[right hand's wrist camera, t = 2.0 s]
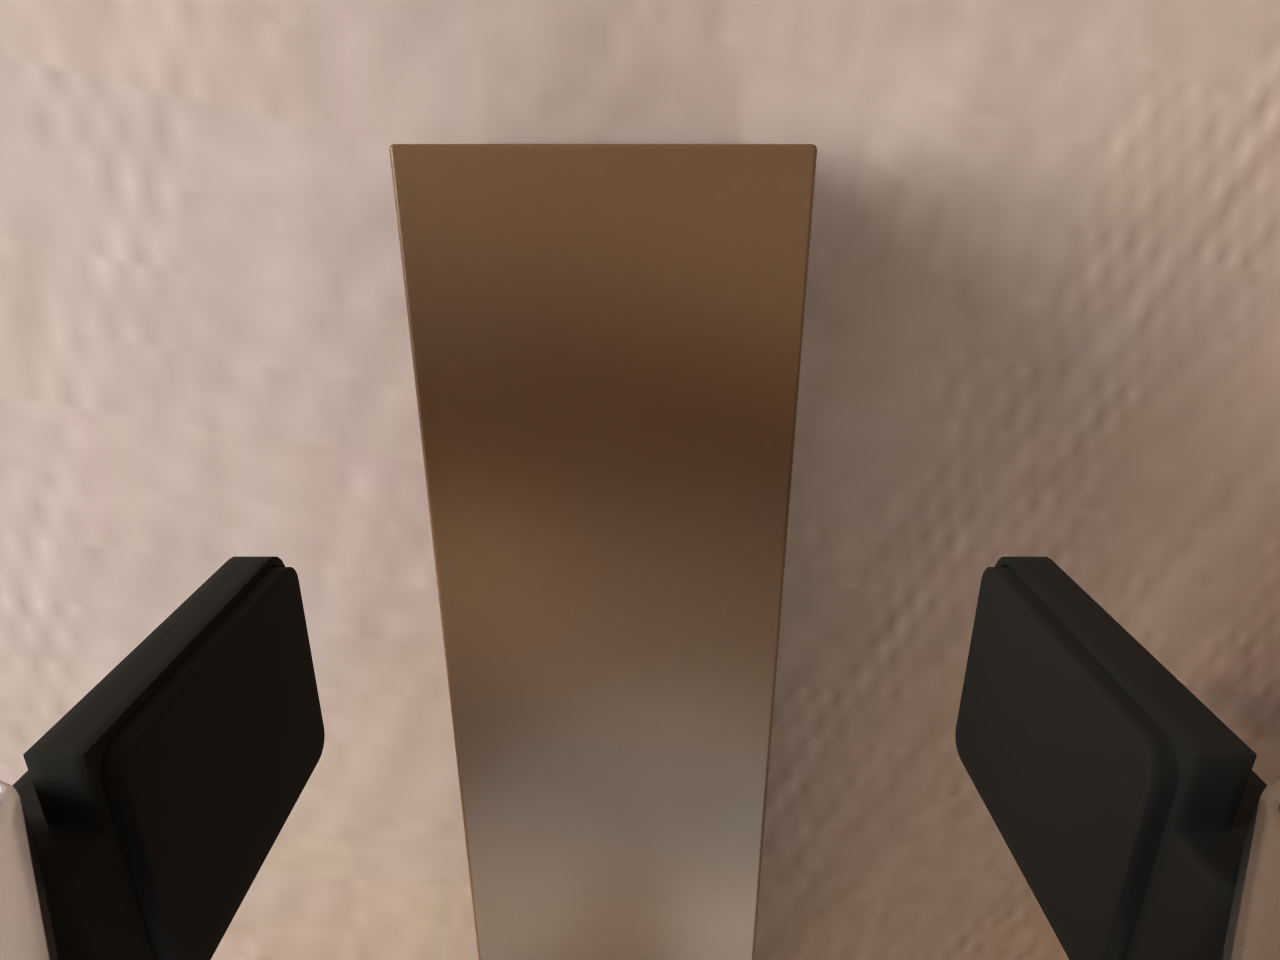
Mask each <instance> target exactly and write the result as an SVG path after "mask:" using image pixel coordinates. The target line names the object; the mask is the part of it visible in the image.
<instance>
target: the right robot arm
mask: <svg viewBox="0 0 1280 960" xmlns="http://www.w3.org/2000/svg"><path fill="white" fill-rule="evenodd" d="M323 745H324V726H323V720H322V714H321V708H320V702H319V697H318V691H317V685H316V679H315V673H314V667H313V662H312V656H311V650H310V644H309V638H308V632H307V627H306V621H305V615H304V609H303V603H302V597H301V592H300V586H299V580H298V576H297V573H296V571H295V569H293V568H292V567H285V565H284V564H283V562H282V560H281V559H280V558H278V557H232V558H231V559H229V560H228V561H227V562H226V563H225V564H224V565H223V566H222V567H221V568H219V569H218V570H217V571H216V572H215V573H214V574H213V575H212V576H211V577H210V578H209V579H208V580H207V581H206V582H205V583H204V584H203V585H202V586H200V587H199V588H198V589H197V590H196V591H195V592H194V593H193V594H192V595H191V596H190V597H189V598H188V599H187V600H186V601H185V602H184V603H183V604H182V605H180V606H179V607H178V608H177V609H176V610H175V611H174V612H173V613H172V614H171V615H170V616H169V617H168V618H167V619H166V620H165V621H164V622H163V623H162V624H160V625H159V626H158V627H157V628H156V629H155V630H154V631H153V632H152V633H151V634H150V635H149V636H148V637H147V638H146V639H145V640H144V641H143V642H142V643H140V644H139V645H138V646H137V647H136V648H135V649H134V650H133V651H132V652H131V653H130V654H129V655H128V656H127V657H126V658H125V659H124V660H123V661H122V662H120V663H119V664H118V665H117V666H116V667H115V668H114V669H113V670H112V671H111V672H110V673H109V674H108V675H107V676H106V677H105V678H104V679H103V680H102V681H100V682H99V683H98V684H97V685H96V686H95V687H94V688H93V689H92V690H91V691H90V692H89V693H88V694H87V695H86V696H85V697H84V698H83V699H82V700H80V701H79V702H78V703H77V704H76V705H75V706H74V707H73V708H72V709H71V710H70V711H69V712H68V713H67V714H66V715H65V716H64V717H63V718H61V719H60V720H59V721H58V722H57V723H56V724H55V725H54V726H53V727H52V728H51V729H50V730H49V731H48V732H47V733H46V734H45V735H44V736H43V737H41V738H40V739H39V740H38V741H37V742H36V743H35V744H34V745H33V746H32V747H31V748H30V749H29V750H28V751H27V752H26V753H25V754H24V755H23V756H24V758H25V761H26V764H27V767H28V771H27V772H26V773H25V774H24V775H23V776H22V777H21V778H20V779H19V780H18V781H17V782H16V783H15V784H14V785H13V786H12V785H9V784H7V783H5V782H2V781H0V960H211V958H212V956H213V954H214V952H215V950H216V949H217V947H218V945H219V943H220V941H221V939H222V937H223V936H224V934H225V932H226V930H227V928H228V926H229V925H230V923H231V921H232V919H233V917H234V915H235V914H236V912H237V910H238V908H239V906H240V904H241V903H242V901H243V899H244V897H245V895H246V893H247V891H248V890H249V888H250V886H251V884H252V882H253V880H254V879H255V877H256V875H257V873H258V871H259V869H260V868H261V866H262V864H263V862H264V860H265V858H266V857H267V855H268V853H269V851H270V849H271V847H272V845H273V844H274V842H275V840H276V838H277V836H278V834H279V833H280V831H281V829H282V827H283V825H284V823H285V822H286V820H287V818H288V816H289V814H290V812H291V810H292V809H293V807H294V805H295V803H296V801H297V799H298V798H299V796H300V794H301V792H302V790H303V788H304V787H305V785H306V783H307V781H308V779H309V777H310V776H311V774H312V772H313V770H314V768H315V766H316V764H317V763H318V761H319V759H320V756H321V754H322V750H323ZM956 745H957V750H958V754H959V756H960V759H961V761H962V763H963V764H964V766H965V768H966V770H967V772H968V774H969V776H970V777H971V779H972V781H973V783H974V785H975V787H976V788H977V790H978V792H979V794H980V796H981V798H982V799H983V801H984V803H985V805H986V807H987V809H988V810H989V812H990V814H991V816H992V818H993V820H994V822H995V823H996V825H997V827H998V829H999V831H1000V833H1001V834H1002V836H1003V838H1004V840H1005V842H1006V844H1007V845H1008V847H1009V849H1010V851H1011V853H1012V855H1013V857H1014V858H1015V860H1016V862H1017V864H1018V866H1019V868H1020V869H1021V871H1022V873H1023V875H1024V877H1025V879H1026V880H1027V882H1028V884H1029V886H1030V888H1031V890H1032V891H1033V893H1034V895H1035V897H1036V899H1037V901H1038V903H1039V904H1040V906H1041V908H1042V910H1043V912H1044V914H1045V915H1046V917H1047V919H1048V921H1049V923H1050V925H1051V926H1052V928H1053V930H1054V932H1055V934H1056V936H1057V937H1058V939H1059V941H1060V943H1061V945H1062V947H1063V949H1064V950H1065V952H1066V954H1067V956H1068V958H1069V960H1280V781H1278V782H1275V783H1273V784H1271V785H1268V786H1267V785H1266V784H1265V783H1264V782H1263V781H1262V780H1261V779H1260V778H1259V777H1258V776H1257V775H1256V774H1255V773H1254V772H1253V771H1252V767H1253V764H1254V761H1255V759H1256V756H1257V755H1256V754H1255V753H1254V752H1253V751H1252V750H1251V749H1250V748H1249V747H1248V746H1247V745H1246V744H1245V743H1244V742H1243V741H1242V740H1241V739H1240V738H1239V737H1237V736H1236V735H1235V734H1234V733H1233V732H1232V731H1231V730H1230V729H1229V728H1228V727H1227V726H1226V725H1225V724H1224V723H1223V722H1222V721H1221V720H1220V719H1219V718H1217V717H1216V716H1215V715H1214V714H1213V713H1212V712H1211V711H1210V710H1209V709H1208V708H1207V707H1206V706H1205V705H1204V704H1203V703H1202V702H1201V701H1200V700H1198V699H1197V698H1196V697H1195V696H1194V695H1193V694H1192V693H1191V692H1190V691H1189V690H1188V689H1187V688H1186V687H1185V686H1184V685H1183V684H1182V683H1181V682H1180V681H1178V680H1177V679H1176V678H1175V677H1174V676H1173V675H1172V674H1171V673H1170V672H1169V671H1168V670H1167V669H1166V668H1165V667H1164V666H1163V665H1162V664H1161V663H1160V662H1158V661H1157V660H1156V659H1155V658H1154V657H1153V656H1152V655H1151V654H1150V653H1149V652H1148V651H1147V650H1146V649H1145V648H1144V647H1143V646H1142V645H1141V644H1140V643H1138V642H1137V641H1136V640H1135V639H1134V638H1133V637H1132V636H1131V635H1130V634H1129V633H1128V632H1127V631H1126V630H1125V629H1124V628H1123V627H1122V626H1121V625H1120V624H1118V623H1117V622H1116V621H1115V620H1114V619H1113V618H1112V617H1111V616H1110V615H1109V614H1108V613H1107V612H1106V611H1105V610H1104V609H1103V608H1102V607H1101V606H1100V605H1098V604H1097V603H1096V602H1095V601H1094V600H1093V599H1092V598H1091V597H1090V596H1089V595H1088V594H1087V593H1086V592H1085V591H1084V590H1083V589H1082V588H1081V587H1080V586H1078V585H1077V584H1076V583H1075V582H1074V581H1073V580H1072V579H1071V578H1070V577H1069V576H1068V575H1067V574H1066V573H1065V572H1064V571H1063V570H1062V569H1061V568H1059V567H1058V566H1057V565H1056V564H1055V563H1054V562H1053V561H1052V560H1051V559H1049V558H1048V557H1002V558H1000V559H999V560H998V562H997V564H996V565H995V567H988V568H987V569H985V571H984V573H983V576H982V580H981V586H980V592H979V597H978V603H977V609H976V615H975V621H974V627H973V632H972V638H971V644H970V650H969V656H968V662H967V667H966V673H965V679H964V685H963V691H962V697H961V702H960V708H959V714H958V720H957V726H956Z"/></svg>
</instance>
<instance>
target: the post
mask: <svg viewBox="0 0 1280 960" xmlns="http://www.w3.org/2000/svg"><path fill="white" fill-rule="evenodd" d="M816 156H817V148H816V146H815V145H813V144H393V145H391V146H390V158H391V167H392V176H393V185H394V194H395V204H396V213H397V222H398V231H399V240H400V249H401V258H402V267H403V276H404V285H405V294H406V303H407V312H408V321H409V330H410V340H411V349H412V358H413V367H414V376H415V385H416V394H417V403H418V412H419V421H420V430H421V439H422V448H423V457H424V467H425V476H426V485H427V494H428V503H429V512H430V521H431V530H432V539H433V548H434V557H435V566H436V575H437V584H438V593H439V603H440V612H441V621H442V630H443V639H444V648H445V657H446V666H447V675H448V684H449V693H450V702H451V711H452V720H453V730H454V739H455V748H456V757H457V766H458V775H459V784H460V793H461V802H462V811H463V820H464V829H465V838H466V847H467V857H468V866H469V875H470V884H471V893H472V902H473V911H474V920H475V929H476V938H477V947H478V956H479V960H754V949H755V936H756V923H757V910H758V897H759V885H760V872H761V859H762V846H763V834H764V821H765V808H766V795H767V782H768V770H769V757H770V744H771V731H772V718H773V706H774V693H775V680H776V667H777V655H778V642H779V629H780V616H781V603H782V591H783V578H784V565H785V552H786V540H787V527H788V514H789V501H790V488H791V476H792V463H793V450H794V437H795V424H796V412H797V399H798V386H799V373H800V361H801V348H802V335H803V322H804V309H805V297H806V284H807V271H808V258H809V245H810V233H811V220H812V207H813V194H814V182H815V169H816Z"/></svg>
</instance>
